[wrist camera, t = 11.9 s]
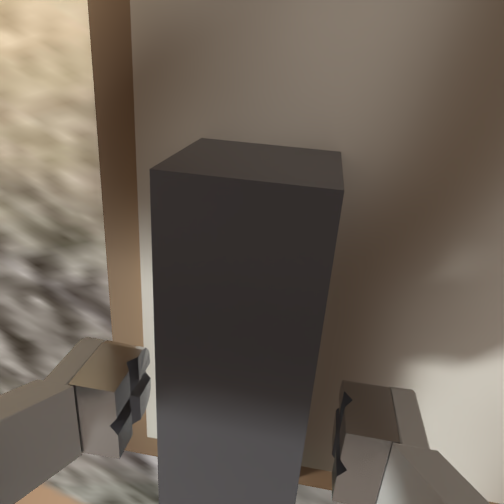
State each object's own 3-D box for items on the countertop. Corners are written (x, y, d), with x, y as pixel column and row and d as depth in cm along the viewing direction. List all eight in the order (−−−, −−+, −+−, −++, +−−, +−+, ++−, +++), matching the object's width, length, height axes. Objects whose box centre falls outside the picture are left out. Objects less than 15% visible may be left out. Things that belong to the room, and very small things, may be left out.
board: (984, -201, 6) (1066, -234, 6) (579, 520, 13) (593, 547, 12) (88, -202, 8) (64, -228, 7) (128, 435, 15) (117, 454, 14)
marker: (340, 151, 9) (344, 190, 6) (291, 485, 13) (280, 594, 11) (201, 137, 10) (149, 168, 7) (194, 466, 14) (160, 566, 11)
